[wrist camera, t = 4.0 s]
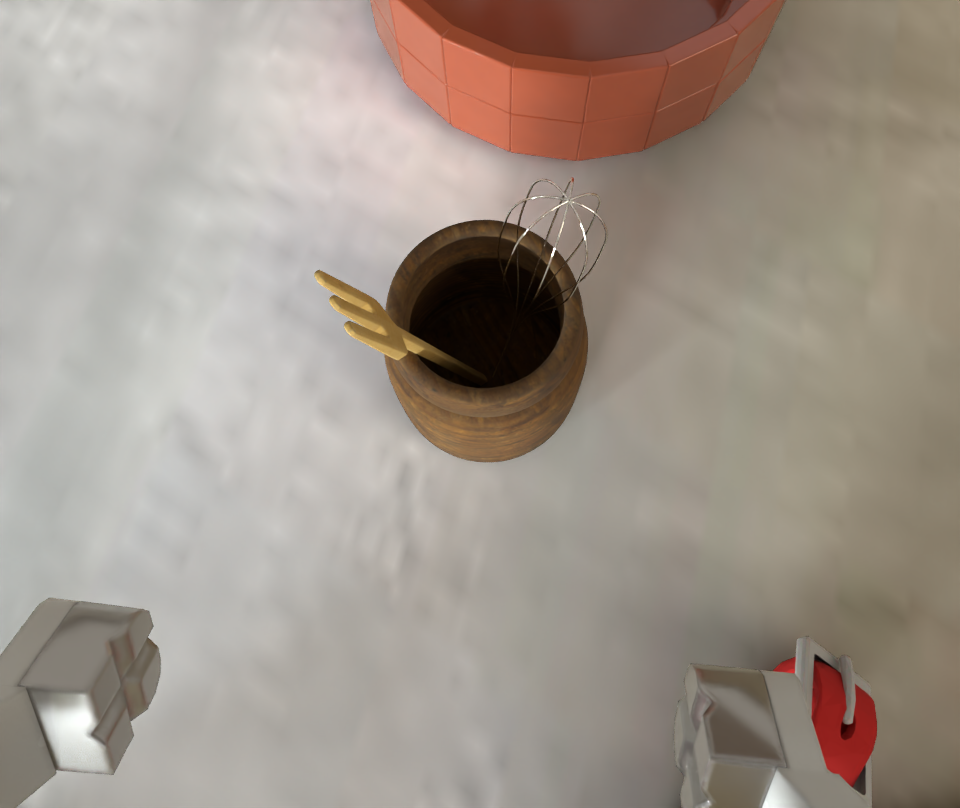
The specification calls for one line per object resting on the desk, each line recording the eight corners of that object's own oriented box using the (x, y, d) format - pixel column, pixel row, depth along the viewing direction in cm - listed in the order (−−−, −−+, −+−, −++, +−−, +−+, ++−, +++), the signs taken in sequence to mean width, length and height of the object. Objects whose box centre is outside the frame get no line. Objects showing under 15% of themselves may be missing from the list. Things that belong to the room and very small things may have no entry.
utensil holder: (611, 408, 27) (691, 266, 16) (448, 505, 27) (405, 432, 15) (518, 266, 29) (530, 37, 17) (360, 356, 28) (259, 183, 16)
